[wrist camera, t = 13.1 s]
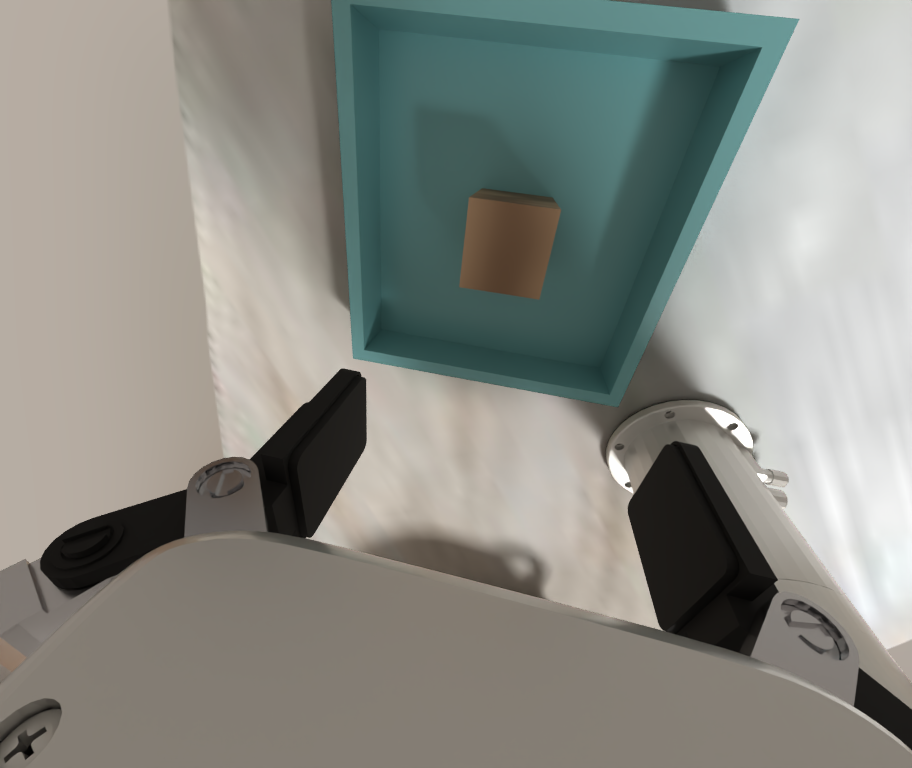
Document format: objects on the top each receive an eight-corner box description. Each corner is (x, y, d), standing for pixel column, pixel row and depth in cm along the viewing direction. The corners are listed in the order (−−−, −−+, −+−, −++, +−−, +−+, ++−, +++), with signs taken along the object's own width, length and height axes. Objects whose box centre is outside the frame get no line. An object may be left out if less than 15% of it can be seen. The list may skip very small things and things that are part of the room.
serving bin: (741, 48, 20) (799, 18, 16) (606, 374, 32) (618, 407, 28) (367, 8, 21) (329, -27, 17) (374, 333, 34) (353, 358, 29)
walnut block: (552, 197, 24) (561, 209, 19) (536, 269, 27) (539, 299, 21) (482, 188, 25) (469, 197, 19) (473, 260, 28) (459, 287, 22)
